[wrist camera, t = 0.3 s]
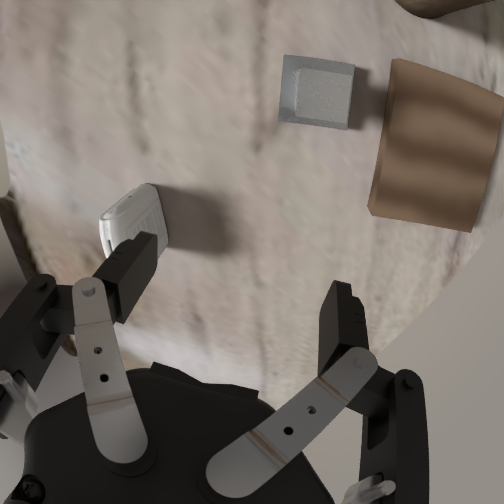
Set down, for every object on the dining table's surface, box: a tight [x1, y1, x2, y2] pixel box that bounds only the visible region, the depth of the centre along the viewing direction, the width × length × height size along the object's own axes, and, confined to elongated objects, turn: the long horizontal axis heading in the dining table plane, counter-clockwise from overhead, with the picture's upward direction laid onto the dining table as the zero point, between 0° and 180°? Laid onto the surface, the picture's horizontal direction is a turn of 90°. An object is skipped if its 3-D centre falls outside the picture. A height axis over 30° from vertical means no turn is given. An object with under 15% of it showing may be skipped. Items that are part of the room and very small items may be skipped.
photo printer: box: [99, 184, 168, 258], centre depth 40 cm, size 10×4×12 cm, turn 6°
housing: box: [278, 55, 355, 130], centre depth 29 cm, size 8×8×11 cm
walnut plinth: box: [367, 59, 504, 233], centre depth 34 cm, size 20×16×3 cm
